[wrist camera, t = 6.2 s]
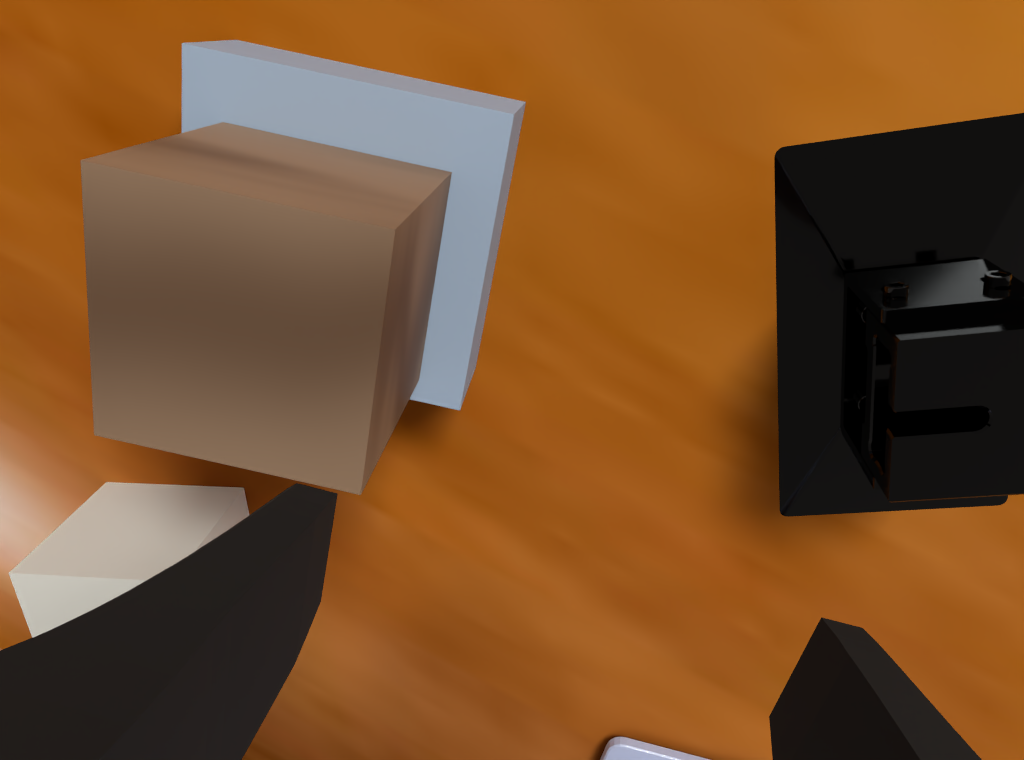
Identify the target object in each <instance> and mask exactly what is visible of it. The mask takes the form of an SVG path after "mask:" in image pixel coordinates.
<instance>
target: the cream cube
mask: <svg viewBox="0 0 1024 760" xmlns="http://www.w3.org/2000/svg"><path fill="white" fill-rule="evenodd" d="M248 516H249V511H248V506H247V501H246V496H245V491H244V488H241V487H216V486H190V485H165V484H139V483H114V482H106V483H105V484H104V485H103V486H102V487H101V488H100V489H98V490H97V491H96V492H95V493H94V494H93V495H92V496H91V497H90V498H89V499H88V500H87V501H86V502H84V503H83V504H82V505H81V506H80V507H79V508H78V509H77V510H76V511H75V512H74V513H73V514H72V515H71V516H69V517H68V518H67V519H66V520H65V521H64V522H63V523H62V524H61V525H60V526H59V527H58V528H57V529H55V530H54V531H53V532H52V533H51V534H50V535H49V536H48V537H47V538H46V539H45V540H44V541H43V542H42V543H40V544H39V545H38V546H37V547H36V548H35V549H34V550H33V551H32V552H31V553H30V554H29V555H28V556H26V557H25V558H24V559H23V560H22V561H21V562H20V563H19V564H18V565H17V566H16V567H15V568H14V569H12V570H11V571H10V572H9V575H10V578H11V581H12V583H13V586H14V589H15V592H16V594H17V597H18V600H19V603H20V605H21V608H22V611H23V613H24V616H25V619H26V622H27V624H28V627H29V630H30V632H31V635H32V638H33V637H36V636H38V635H40V634H42V633H45V632H47V631H49V630H51V629H53V628H56V627H58V626H60V625H62V624H64V623H66V622H68V621H70V620H72V619H74V618H76V617H79V616H81V615H83V614H85V613H87V612H89V611H91V610H93V609H95V608H97V607H99V606H101V605H102V604H104V603H106V602H108V601H110V600H112V599H114V598H116V597H118V596H120V595H121V594H123V593H125V592H127V591H129V590H130V589H132V588H134V587H136V586H137V585H139V584H141V583H143V582H144V581H146V580H148V579H150V578H151V577H153V576H155V575H156V574H158V573H160V572H162V571H163V570H165V569H167V568H169V567H170V566H172V565H174V564H176V563H177V562H179V561H180V560H182V559H184V558H185V557H187V556H189V555H190V554H192V553H193V552H195V551H196V550H198V549H199V548H201V547H202V546H204V545H206V544H207V543H209V542H210V541H212V540H213V539H215V538H216V537H218V536H219V535H221V534H223V533H224V532H226V531H227V530H229V529H230V528H232V527H233V526H235V525H236V524H237V523H239V522H240V521H242V520H243V519H245V518H246V517H248Z"/></svg>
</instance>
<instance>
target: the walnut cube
mask: <svg viewBox="0 0 1024 760" xmlns="http://www.w3.org/2000/svg"><path fill="white" fill-rule="evenodd" d="M451 175H452V172H449V171H444V170H440V169H435V168H430V167H426V166H421V165H417V164H412V163H408V162H403V161H399V160H394V159H389V158H385V157H380V156H376V155H371V154H367V153H362V152H358V151H353V150H348V149H344V148H339V147H335V146H330V145H326V144H321V143H317V142H312V141H307V140H303V139H298V138H294V137H289V136H285V135H280V134H275V133H271V132H266V131H262V130H257V129H253V128H248V127H244V126H239V125H234V124H230V123H225V122H221V123H218V124H214V125H210V126H206V127H203V128H199V129H195V130H192V131H188V132H184V133H180V134H177V135H173V136H169V137H165V138H162V139H158V140H154V141H151V142H147V143H143V144H139V145H136V146H132V147H128V148H125V149H121V150H117V151H113V152H110V153H106V154H102V155H98V156H95V157H91V158H87V159H84V160H81V177H82V197H83V217H84V237H85V258H86V278H87V298H88V318H89V338H90V359H91V379H92V399H93V419H94V435H96V436H101V437H105V438H110V439H114V440H119V441H123V442H127V443H132V444H136V445H141V446H145V447H150V448H154V449H159V450H163V451H167V452H172V453H176V454H181V455H185V456H190V457H194V458H199V459H203V460H207V461H212V462H216V463H221V464H225V465H230V466H234V467H239V468H243V469H247V470H252V471H256V472H261V473H265V474H270V475H274V476H279V477H283V478H287V479H292V480H296V481H301V482H305V483H310V484H314V485H319V486H323V487H327V488H332V489H336V490H341V491H345V492H350V493H354V494H359V495H361V493H362V491H363V490H364V488H365V486H366V484H367V482H368V480H369V478H370V476H371V474H372V472H373V470H374V468H375V466H376V464H377V462H378V460H379V458H380V456H381V454H382V452H383V450H384V448H385V446H386V444H387V442H388V440H389V438H390V436H391V434H392V432H393V430H394V428H395V426H396V425H397V423H398V421H399V419H400V417H401V415H402V413H403V411H404V409H405V407H406V405H407V403H408V401H409V399H410V397H411V395H412V393H413V391H414V389H415V387H416V385H417V383H418V381H419V378H420V371H421V365H422V359H423V352H424V346H425V340H426V333H427V327H428V321H429V314H430V308H431V302H432V295H433V289H434V283H435V276H436V270H437V264H438V257H439V251H440V245H441V238H442V232H443V226H444V219H445V213H446V207H447V200H448V194H449V188H450V181H451Z"/></svg>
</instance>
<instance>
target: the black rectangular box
mask: <svg viewBox="0 0 1024 760" xmlns="http://www.w3.org/2000/svg"><path fill="white" fill-rule="evenodd" d="M775 223H776V290H777V356H778V423H779V490H780V513H781V514H782V515H784V516H805V515H824V514H843V513H862V512H880V511H899V510H918V509H937V508H956V507H975V506H994V505H1001V504H1003V503H1005V502H1006V500H1007V498H1008V495H1019V494H1024V113H1020V114H1013V115H1006V116H999V117H992V118H985V119H978V120H971V121H963V122H956V123H949V124H942V125H935V126H928V127H921V128H914V129H907V130H900V131H893V132H886V133H879V134H872V135H864V136H857V137H850V138H843V139H836V140H829V141H822V142H815V143H808V144H801V145H794V146H787V147H782V148H780V149H779V150H778V151H777V152H776V154H775Z"/></svg>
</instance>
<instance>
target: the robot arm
mask: <svg viewBox="0 0 1024 760" xmlns="http://www.w3.org/2000/svg"><path fill="white" fill-rule="evenodd" d="M336 500H337V493H333V492H329V491H325V490H321V489H317V488H313V487H309V486H305V485H302V484H298V483H296V484H295V485H293V486H291V487H289V488H287V489H286V490H285V491H283V492H282V493H280V494H279V495H278V496H276V497H275V498H273V499H272V500H270V501H269V502H268V503H266V504H265V505H263V506H262V507H261V508H259V509H258V510H256V511H255V512H253V513H252V514H251V515H249V516H248V517H246V518H245V519H243V520H242V521H240V522H239V523H237V524H236V525H235V526H233V527H232V528H230V529H229V530H227V531H226V532H224V533H223V534H221V535H219V536H218V537H216V538H215V539H213V540H212V541H210V542H209V543H207V544H206V545H204V546H202V547H201V548H199V549H198V550H196V551H195V552H193V553H192V554H190V555H189V556H187V557H185V558H184V559H182V560H180V561H179V562H177V563H176V564H174V565H172V566H170V567H169V568H167V569H165V570H163V571H162V572H160V573H158V574H156V575H155V576H153V577H151V578H150V579H148V580H146V581H144V582H143V583H141V584H139V585H137V586H136V587H134V588H132V589H130V590H129V591H127V592H125V593H123V594H121V595H120V596H118V597H116V598H114V599H112V600H110V601H108V602H106V603H104V604H102V605H101V606H99V607H97V608H95V609H93V610H91V611H89V612H87V613H85V614H83V615H81V616H79V617H76V618H74V619H72V620H70V621H68V622H66V623H64V624H62V625H60V626H58V627H56V628H53V629H51V630H49V631H47V632H45V633H42V634H40V635H38V636H36V637H33V638H31V639H28V640H26V641H23V642H21V643H18V644H16V645H13V646H11V647H8V648H6V649H3V650H1V651H0V760H242V758H243V756H244V754H245V752H246V751H247V749H248V747H249V745H250V744H251V742H252V740H253V738H254V736H255V735H256V733H257V731H258V729H259V727H260V726H261V724H262V722H263V720H264V719H265V717H266V715H267V713H268V711H269V710H270V708H271V706H272V704H273V702H274V701H275V699H276V697H277V695H278V693H279V692H280V690H281V688H282V686H283V684H284V683H285V681H286V679H287V677H288V675H289V673H290V672H291V670H292V668H293V666H294V664H295V662H296V660H297V657H298V655H299V653H300V650H301V648H302V646H303V643H304V641H305V639H306V636H307V634H308V631H309V629H310V626H311V624H312V621H313V619H314V617H315V614H316V612H317V609H318V607H319V604H320V602H321V596H322V590H323V583H324V577H325V570H326V564H327V558H328V551H329V545H330V538H331V532H332V526H333V519H334V513H335V506H336ZM769 718H770V730H771V743H772V755H773V760H981V758H980V757H979V756H978V755H977V754H976V753H975V752H974V751H973V750H972V749H971V747H970V746H969V745H968V744H967V743H966V742H965V741H964V740H963V739H962V737H961V736H960V735H959V734H958V733H957V732H956V731H955V730H954V729H953V727H952V726H951V725H950V724H949V723H948V722H947V721H946V719H945V718H944V717H943V716H942V715H941V714H940V713H939V712H938V710H937V709H936V708H935V707H934V706H933V705H932V704H931V702H930V701H929V700H928V699H927V698H926V697H925V696H924V695H923V693H922V692H921V691H920V690H919V689H918V688H917V687H916V685H915V684H914V683H913V682H912V681H911V680H910V679H909V677H908V676H907V675H906V674H905V673H904V672H903V671H902V670H901V668H900V667H899V666H898V665H897V664H896V663H895V662H894V661H893V659H892V658H891V657H890V656H889V655H888V654H887V653H886V652H885V651H884V650H883V648H882V647H881V646H880V645H879V644H878V643H877V642H876V641H875V640H874V639H873V638H872V637H871V636H870V635H869V634H868V633H867V632H866V631H865V630H864V629H863V628H860V627H856V626H852V625H849V624H845V623H841V622H837V621H833V620H829V619H825V618H821V619H820V621H819V623H818V625H817V627H816V629H815V631H814V633H813V635H812V636H811V638H810V640H809V642H808V644H807V646H806V648H805V650H804V652H803V654H802V655H801V657H800V659H799V661H798V663H797V665H796V667H795V669H794V671H793V673H792V674H791V676H790V678H789V680H788V682H787V684H786V686H785V688H784V690H783V692H782V693H781V695H780V697H779V699H778V701H777V703H776V705H775V707H774V709H773V711H772V712H771V714H770V716H769ZM600 760H710V759H706V758H702V757H698V756H695V755H691V754H687V753H683V752H680V751H676V750H672V749H668V748H664V747H661V746H657V745H653V744H649V743H645V742H642V741H638V740H634V739H630V738H627V737H615V738H613V739H611V740H609V742H608V743H607V745H606V747H605V749H604V752H603V754H602V756H601V759H600Z"/></svg>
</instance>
